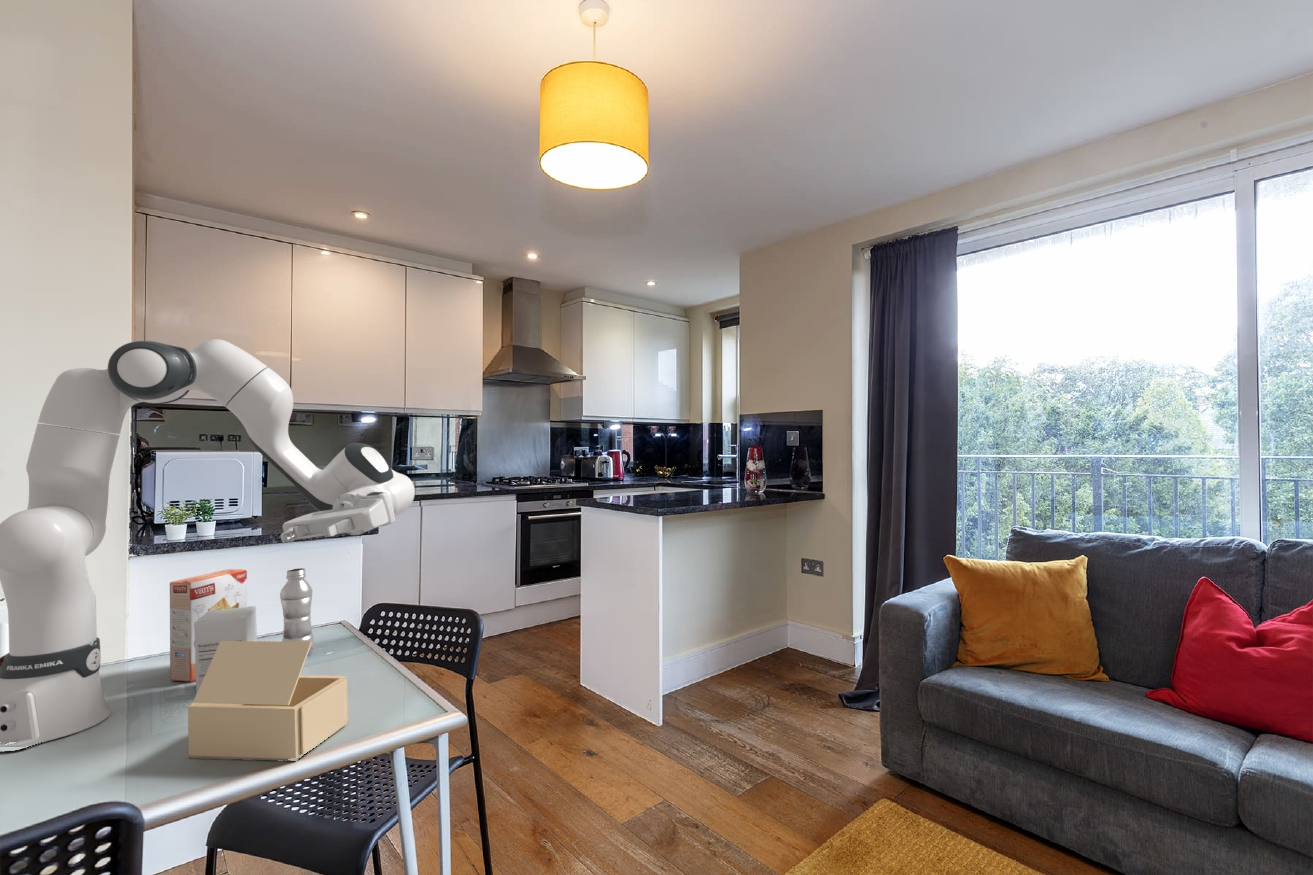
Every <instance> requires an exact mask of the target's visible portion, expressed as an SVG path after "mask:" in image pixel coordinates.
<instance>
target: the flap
mask: <svg viewBox="0 0 1313 875" xmlns="http://www.w3.org/2000/svg"><path fill="white" fill-rule="evenodd" d="M311 644H312V642H282V641H269V640H268V641H267V640H265V641H262V640H261V641H259V640H257V641H220V644H219V646H218V648H217V650H216V653H215V655H214V657H213V659H212V661H211V664H210V666H209V668H208V670H207V672H206V675H205V677H204V679H203V681H202V684H201V686H200V688H199V690H198V692H197V695H196V694H195V697H194V699H193V701H192V703H215V704H262V705H289V704H290V701H291V699H292V696H293V693H294V690H295V688H296V685H297V682H298V679H299V677H300V675H302V671H303V668H304V666H305V663H306V659H307V657H308V655H309V654H308V652H309V649H310V647H311Z"/></svg>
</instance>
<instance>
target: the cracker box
mask: <svg viewBox="0 0 1313 875" xmlns="http://www.w3.org/2000/svg"><path fill="white" fill-rule="evenodd" d="M242 607H248V571H247V569H240V568H239V569H234V568H233V569H231V568H230V569H223V570H219V571H214V572H210V573H206V574H205V573H204V574H201V575H196V576H192V577H187V578H184V579H178V580H173V581H170V582H169V662H170V663H169V664H170V666H169V676H170V678H169V679H170V680H169V681H176V682H188V683H192V682H196V667H195V627H194V622H196V621H197V620H198V619H199V618H200V617H202V616H203V615H204V614H205V613H207V612H208V611H212V610H221V609H233V608H242Z"/></svg>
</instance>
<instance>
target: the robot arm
mask: <svg viewBox="0 0 1313 875" xmlns="http://www.w3.org/2000/svg"><path fill="white" fill-rule="evenodd" d="M190 391H197V392H202V393H204V394H205V395H207V396H210V397H211V398H212V399H214V400H215V401H216V402H218V403H219V404H221V405H222V406H224V407H225V408H226V409H227V410H228V411H230V412H231V413H232V414H233V415H235V417H236V418H237V419H238V420H239V421H240V422H241V424H242V426H243V427H244V429H245V431H246V436H247V439H248V440H249V442H250V444H252V446H253V448H255V449H256V450H257V451H258V452H259V453H260V454H261V456H263V457H264V458H265V459H266V460H267V462H269V463H270V464H271V465H272V466H274V468H276V469H277V470H278V471H279V472H280V473H281V474H282V475H283V476H284V477H285V478H286V479H287V480H288V481H289V482H290V483H291V484H293V485H294V486H295V487H296V488H297V489H298V490H299V491H300V492H301V494H302V495H303V496H304V498H305V499H306V500H307V502H308V503H309V505H311V506H312V507H313V508H314V509H315V510H317V511H313V512H311V513H307V514H304V515H301V516H298V517H295V518H292V519H290V520H288V521H286V522H284V523H283V524H282V531H283V532H282V533H281V534H280V539H281V542H282V543H283V544H285V543H291V542H294V541H296V540H297V541H298V540H302V539H309V538H310V539H311V538H316V537H324V538H329V537H335V536H336V535H339V534H348V535H351V536H359V535H362V534H364V533H366V532H369V531H371V530H374V529H376V528H380V527H385V526H388V525H392V524H393V523H396V517H397V516H398V515H400V514H402V513H403V512H404V511H406V510H407V509H408V508H409V507H410V506H411V505H412V503H413V501H414V499H415V494H416V493H415V492H416V490H415V486H414V485H415V484H414V482H413V481H412V480H411V479H410V477H408V476H407V475H406V474H403V473H400V472H397V471H395V470H393V468H391V466H390V464H389V461H388V460H387V458H386V456H384V454H383V452H381V451H380V450H379V449H378V448H376V447H374V446H372V445H370V444H367V443H362V442H361V443H360V442H351V443H349V444H347V445H346V446H345V447H344V448H343V449H342V450H341V451H339V453H338V454H336V455H335V457H334V458H333V459H332V460H331V461H330V462H329V463H328V464H327V465H326V466H325V467H324V468H323V469H322V468H319V467H317V466H316V465H315V464H314V463H313V462H312V461H311V460H310V459H309V458H308V457H306V455H305V454H304V453H303V452H301V450H300V449H298V447H296V446H295V444H294V443H293V442H292V440H291V439H290V436H289V425H290V424H289V423H290V420H291V416H292V414H293V409H294V395H293V391H292V388H291V386H290V385H289V383H288V382H286V380H285V379H284V378H283V377H282V376H280V375H279V374H278V373H277V372H276V371H274V370H273V369H272V368H271V367H269V366H267V365H266V364H264V363H263V362H262V361H260V360H259V359H257V358H256V357H255V356H253V354H250V353H249V352H247V351H245V350H243V349H242V348H240V347H239V346H237V345H235V344H233V343H231V342H229V341H227V340H226V339H225V340H224V339H220V338H213V339H208V340H206V341H203V342H201V343H199V344H198V345H196V346H195V347H194V348H192V349H191V350H190V351H189V350H188V349H186V348H184V347H180V346H176V345H171V344H165V343H162V342H156V341H153V340H135V341H131V342H130V341H129V342H128V343H125V344H123V345H121V346H119V347H118V348H117V349H116V350H114V352H112V354H111V356H109V360H108V364H107V368H106V369H98V368H97V369H96V368H92V367H79V368H72V369H67V370H64V371H63V372H61V373H60V374H59V375H58V376H57V377H56V379H55V381H54V383H53V384H52V386H51V388H50V389H49V392H48V394H47V396H46V399H45V400H44V402H43V404H42V405H43V406H42V408H41V410H40V413H39V417H38V421H37V424H36V428H35V430H34V431H35V432H34V434H33V439H32V443H31V446H30V450H29V453H28V457H27V462H26V466H25V468H26V469H25V470H26V472H27V477H28V504H27V509H24V510H21V511H19V512H16V513H13V514H12V515H10V516H9V517H7V518H6V519H4V520H3V521H1V522H0V584H1V588H2V591H3V594H4V598H5V603H6V607H7V608H6V609H7V615H8V616H7V617H8V618H7V621H8V623H7V624H8V650H9V651H8V652H7V653H6V654H4V655H2V656H0V742H1V743H0V747H26V746H30V745H34V746H36V745H35V744H37V745H39V744H42V743H46V742H48V741H52V740H57V739H59V738H63V737H67V736H69V735H72V734H75V733H78V732H81V731H84V730H86V729H89V728H91V727H94V726H95V725H97V724H100V723H101V722H103V721H104V720H107V718H109V717H110V715H111V710H110V708H109V706H108V704H107V701H106V698H105V695H104V691H103V687H102V681H101V676H100V675H101V674H100V669H101V658H102V657H101V640H100V638H99V637H98V635H97V634H98V632H97V596H96V593H95V591H94V590H93V588H92V585H91V581H90V579H89V574H88V570H87V565H86V557H87V556H88V555H91V554H92V553H93V552H94V551H95V550H96V549H98V547H99V546H100V545H101V543H102V541H103V540H104V537H105V535H106V533H107V532H106V530H107V524H106V520H107V513H108V506H109V489H110V488H109V487H110V478H111V474H112V469H113V464H114V461H115V460H114V459H115V456H116V453H117V449H118V444H119V440H120V437H121V436H120V434H121V433H122V432H121V431H122V428H123V423H124V421H125V417H126V415H127V413H128V411H129V410H130V408H132V407H133V406H144V405H145V406H147V405H162V404H164V405H165V404H170V403H173V402H176V401H178V400H181V399H183V398H184V397H185V396H187V394H188V393H190ZM9 742H16V743H14V744H10V745H9V744H8V745H5V744H7V743H9ZM41 742H42V743H41ZM38 743H39V744H38Z"/></svg>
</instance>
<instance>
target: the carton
mask: <svg viewBox="0 0 1313 875" xmlns="http://www.w3.org/2000/svg"><path fill="white" fill-rule="evenodd" d="M348 685H349V684H348V676H344V675H309V674H307V675H302V674H300V677H299V679H298V682H297V685H296V688H295V690H294V693H293V696H292V699H291V701H290V704H289V705H262V704H215V703H193V702H192V703H191V704H190V705H188V706H187V732H188V733H187V734H188V736H187V738H188V759H194V760H195V759H198V760H199V759H201V760H202V759H203V760H227V761H228V760H230V759H231V760H232V759H247V760H246V761H256V760H288V759H291V758H297V757H298V756H299V755H301V754H305V753H307V752H308V751H310V750H311V751H313V750H314V749H316V748H317V747H319V745H321V744H322V743H324V742H325V741H326V740H327V739H329V738H331V736H333V735H335V734H336V733H338V731H340V730H341V729H342V728H344V727H345V726H347V725H348V724H349V697H348V696H349V690H348V689H349V688H348V687H349V686H348ZM328 737H329V738H328ZM324 740H325V741H324ZM320 743H321V744H320ZM316 746H317V747H316ZM313 748H314V749H313ZM312 749H313V750H312ZM311 751H310V752H311ZM308 753H309V752H308ZM308 753H307V754H308ZM249 759H250V760H249Z"/></svg>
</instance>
